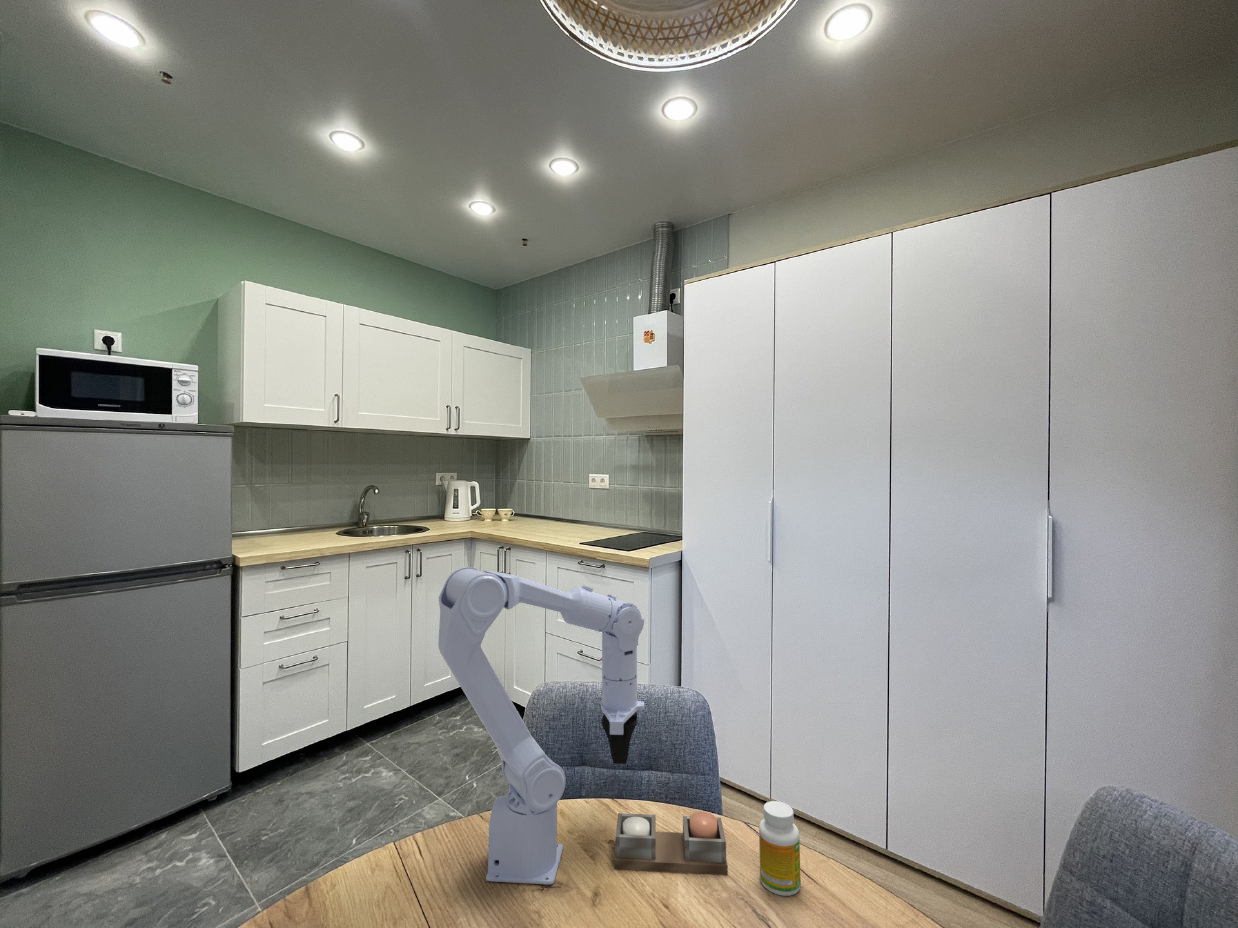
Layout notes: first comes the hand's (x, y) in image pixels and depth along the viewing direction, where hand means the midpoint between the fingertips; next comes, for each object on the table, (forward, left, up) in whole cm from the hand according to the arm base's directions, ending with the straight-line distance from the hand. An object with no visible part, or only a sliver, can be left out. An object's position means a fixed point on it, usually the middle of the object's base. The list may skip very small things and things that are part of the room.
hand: (619, 761), depth 84 cm
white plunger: (+3, -6, -9) cm, 11 cm away
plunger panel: (+8, -6, -10) cm, 14 cm away
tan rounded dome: (+13, -6, -8) cm, 16 cm away
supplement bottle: (+23, -10, -11) cm, 27 cm away
